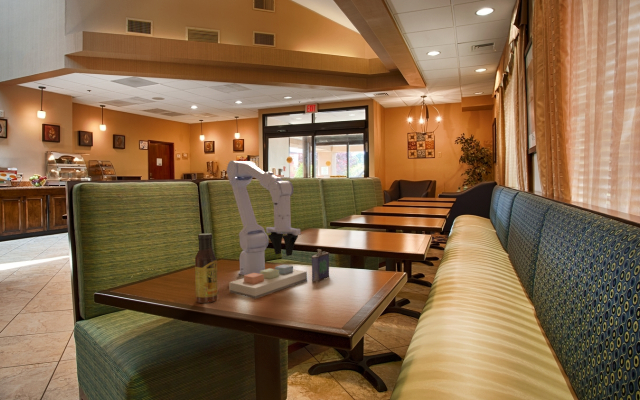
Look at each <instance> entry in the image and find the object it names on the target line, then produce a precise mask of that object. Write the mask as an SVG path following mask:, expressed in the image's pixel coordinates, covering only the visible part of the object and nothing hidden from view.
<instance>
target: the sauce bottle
mask: <svg viewBox="0 0 640 400" xmlns="http://www.w3.org/2000/svg"><path fill="white" fill-rule="evenodd" d="M197 239H198V251H197V253H196V255H195V257H194V263H195V266H194V274H195V275H194V278H195V281H194V282H195V297H196V302H197V303H199V304H208V303H213V302H215V301H217V299H218V288H219V287H218V260H217V257H216V254H215V252H214V249H213V234H212V233H199V234H197Z"/></svg>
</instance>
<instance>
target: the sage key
mask: <svg viewBox="0 0 640 400" xmlns="http://www.w3.org/2000/svg"><path fill="white" fill-rule="evenodd" d="M260 274H264V279H273V278H276V277H279V270H276V269H275V268H269V267H268V268H265V270H262V271H260Z"/></svg>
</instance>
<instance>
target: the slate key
mask: <svg viewBox="0 0 640 400" xmlns="http://www.w3.org/2000/svg"><path fill="white" fill-rule="evenodd" d="M274 269H276V270H279V274H282V275H286V274H289V273H292V272H293V269H294V266H293V265H290V264H280V265H278V266H275V267H274Z"/></svg>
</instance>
